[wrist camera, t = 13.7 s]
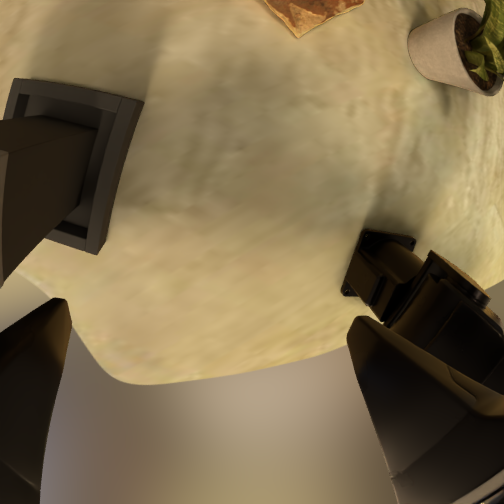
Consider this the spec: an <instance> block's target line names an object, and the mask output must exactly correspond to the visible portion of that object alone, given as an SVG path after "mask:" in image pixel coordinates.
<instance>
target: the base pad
mask: <svg viewBox="0 0 504 504" xmlns="http://www.w3.org/2000/svg"><path fill="white" fill-rule="evenodd" d="M143 105H144V102H142V101H138V100H134V99H130V98H127V97H123V96H118V95H114V94H110V93H106V92H101V91H96V90H92V89H87V88H82V87H77V86H71V85H65V84H59V83H53V82H46V81H39V80H31V79H20V78H14V79H13V83H12V86H11V89H10V93H9V96H8V100H7V104H6V108H5V112H4V116H3V120H6V119H12V118H19V117H27V116H36V115H45V116H49V117H53V118H57V119H61V120H65V121H69V122H73V123H77V124H81V125H85V126H88V127H92V128H96V129H98V133H97V137H96V140H95V143H94V147H93V150H92V154H91V157H90V161H89V165H88V169H87V173H86V177H85V181H84V185H83V190H82V195H81V200H80V205H79V206H78V207H77V208H75V209H74V210H73V211H72V212H71V213H70V214H69V215H68V216H67V217H65V218H64V219H63V220H62V221H61V222H60V223H59V224H58V225H57V226H56V227H55V228H54V229H53V230H52V231H51V232H50V233H49V234H48V235H47V236H46V237H45V238H46V239H49V240H52V241H55V242H58V243H61V244H64V245H67V246H70V247H73V248H76V249H79V250H82V251H85V252H88V253H91V254H94V255H98V253H99V251H100V250H101V248H102V247H103V245H104V244H105V242H106V237H107V231H108V226H109V222H110V217H111V212H112V208H113V204H114V199H115V195H116V191H117V187H118V183H119V180H120V176H121V172H122V169H123V165H124V162H125V158H126V155H127V152H128V148H129V145H130V142H131V139H132V136H133V133H134V130H135V127H136V124H137V121H138V119H139V116H140V113H141V110H142V108H143Z"/></svg>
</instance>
